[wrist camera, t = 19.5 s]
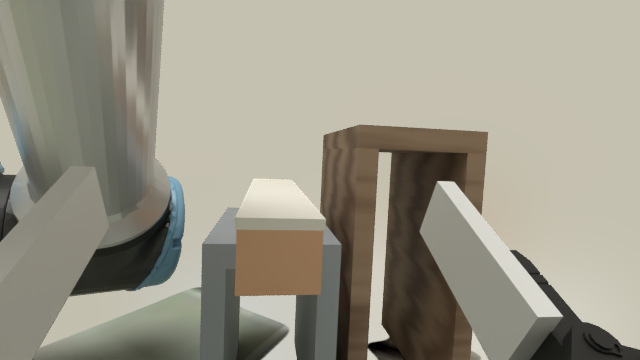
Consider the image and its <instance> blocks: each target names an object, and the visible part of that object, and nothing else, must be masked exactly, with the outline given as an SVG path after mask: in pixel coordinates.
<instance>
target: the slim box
mask: <svg viewBox="0 0 640 360" xmlns="http://www.w3.org/2000/svg"><path fill="white" fill-rule="evenodd" d="M234 230H237V231H236V267H235V296H259V295H260V296H261V295H321V276H322V255H323V233H324V231H326V219H325V217H324V216H323V215H322V214H321V213H320V212H319V211H318V209H317V208H316V207H315V206H314V205H313V204H312V203H311V201H310V200H309V199H308V198H307V197H306V196H305V194H303V192H302V191H301V190H300V189H299V188H298V187H297V185H296V184H295V183H294V182H293V181H292V180H287V179H285V180H284V179H256V178H254V179H253V181H252V183H251V185H250V187H249V189H248V191H247V194H246V196H245V198H244V200H243V202H242V204H241V206H240V208H239V210H238V212H237V214H236V216H235V229H234Z"/></svg>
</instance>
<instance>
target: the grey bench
mask: <svg viewBox="0 0 640 360" xmlns="http://www.w3.org/2000/svg"><path fill="white" fill-rule="evenodd" d="M238 210H239V208H227V210H226V211H225V212H224V214H223V215H222V217H221V218H220V220H219V221H218V223H217V224H216V225H215V227H214V228H213V230H212V231H211V232H210V234H209V235H208V237H207V238H206V239H205V241H204V242H203V244H202V285H201V333H200V360H236V356H237V350H238V343H239V308H240V296H235V267H236V231H237V230H234V229H235V216H236V214H237V212H238ZM341 246H342V245H341V243H340V242H339V241H338V240H337V238H336V237H335V236H334V235H333V233H332V232H331V231H330V230H329V228H328V227H327V226H326V231H324V233H323V255H322V276H321V295H296V318H295V348H296V355H297V360H336V346H337V326H338V306H339V286H340V266H341Z"/></svg>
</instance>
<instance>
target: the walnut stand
mask: <svg viewBox="0 0 640 360" xmlns="http://www.w3.org/2000/svg"><path fill="white" fill-rule="evenodd" d="M487 138H488V132H477V131H460V130H459V131H458V130H442V129H425V128H408V127H391V126H374V125H357V126H354V127H350V128H347V129H343V130H340V131H337V132H333V133H330V134H326V135H324V140H323V162H322V186H321V207H320V213H321V214H322V215H323V216H324V217H325V219H326V226H327V227H328V228H329V230H330V231H331V232H332V233H333V235H334V236H335V237H336V238H337V240H338V241H339V242H340V243H341V245H342V246H341V266H340V286H339V306H338V326H337V346H336V360H367V349H368V330H369V313H370V296H371V278H372V261H373V242H374V225H375V208H376V190H377V173H378V154H379V152H391V153H392V159H391V175H390V193H389V209H388V225H387V242H386V259H385V276H384V293H383V310H382V325H383V327H384V328H385V330H386V332H387V333H388V335H389V336H390V338H391V339H392V341H393V342H394V344H395V345H396V347H397V348H398V350H399V351H400V353H401V354H402V356H403V357H404V359H405V360H470V353H471V340H472V328H471V326H470V324H469V322H468V320H467V318H466V317H465V315H464V313H463V311H462V309H461V307H460V305H459V304H458V302H457V300H456V298H455V296H454V294H453V293H452V291H451V289H450V287H449V285H448V283H447V281H446V280H445V278H444V276H443V274H442V272H441V270H440V269H439V267H438V265H437V263H436V261H435V259H434V258H433V256H432V254H431V252H430V250H429V248H428V246H427V245H426V243H425V241H424V239H423V237H422V235H421V234H420V232H419V231H420V228H421V226H422V223H423V220H424V217H425V214H426V211H427V209H428V206H429V203H430V200H431V197H432V194H433V191H434V189H435V186H436V183H437V181H449V182H455V183H456V185H457V186H458V187H459V188H460V190H461V191H462V192H463V193H464V195H465V196H466V197H467V198H468V200H469V201H470V202H471V203H472V204H473V206H474V207H475V208H476V209H477V211H478V212H479V213H480V214H482V200H483V189H484V176H485V163H486V151H487Z"/></svg>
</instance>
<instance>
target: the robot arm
mask: <svg viewBox="0 0 640 360" xmlns="http://www.w3.org/2000/svg"><path fill="white" fill-rule="evenodd" d="M163 7H164V0H0V97H1V100H2V102H3V106H4V109H5V112H6V115H7V118H8V120H9V123H10V126H11V129H12V132H13V135H14V138H15V141H16V144H17V147H18V150H19V153H20V156H21V159H22V161H23V165H24V166H23V167H22V168H21V170H20V171H19V172H18V174H17V175H3V174H2V173H3V172H4V168H3V167H2V165H1V163H0V360H32V359H33V357H34V356H35V354H36V352H37V350H38V349H39V347H40V345H41V343H42V342H43V340H44V338H45V337H46V335H47V333H48V331H49V330H50V328H51V326H52V324H53V323H54V321H55V319H56V318H57V316H58V314H59V312H60V311H61V309H62V307H63V306H64V304H65V302H66V300H67V299H68V297H69V296H77V295H86V294H94V293H103V292H111V291H120V290H126V291H136V290H137V289H138V290H139V289H141V288H143V287H147V286H154V285H159V284H162V283H164V282H165V281H167V280H168V279H169V278H170V277H171V276H172V274H173V273H174V271H175V269H176V267H177V264H178V261H179V257H180V253H181V247H182V246H181V239H182V237H183V233H184V222H185V205H184V196H183V190H182V186H181V184H180V182H179V181H178V180H177V179H175V178H173V177H168V176H167V173H166V171H165V169H164V168H163V166H162V165H161V164H160V163H159V161H158V160H157V159H156V158H155V142H156V125H157V108H158V92H159V76H160V59H161V58H160V57H161V41H162V26H163V9H164V8H163ZM419 232H420V234H421V235H422V237H423V239H424V241H425V243H426V245H427V246H428V248H429V250H430V252H431V254H432V256H433V258H434V259H435V261H436V263H437V265H438V267H439V269H440V270H441V272H442V274H443V276H444V278H445V280H446V281H447V283H448V285H449V287H450V289H451V291H452V293H453V294H454V296H455V298H456V300H457V302H458V304H459V305H460V307H461V309H462V311H463V313H464V315H465V317H466V318H467V320H468V322H469V324H470V326H471V328H472V329H473V331H474V333H475V335H476V337H477V339H478V341H479V342H480V344H481V346H482V348H483V350H484V352H485V353H486V355H487V357H488V359H489V360H640V350H638V349H634V348H631V347H626V346H623V345H621V344H620V343H619V341H618V340H617V339H615V338H614V337H613V336H612V335H610V333H608V332H607V331H605V330H603V329H602V328H600V327H598V326H596V325H593V324H590V323H586V322H582V321H581V320H580V319H579V318H578V317H577V316H576V314H575V313H574V312H573V311H572V310H571V308H570V307H569V306H568V305H567V304H566V303H565V301H564V300H563V299H562V298H561V297H560V296H559V294H558V293H557V292H556V291H555V290H554V289H553V287H552V286H551V285H549V284H548V281H547V280H546V279H545V278H544V277H543V275H540V272H539V271H538V270H537V268H536V267H535V266H534V265H533V264H532V263H531V262H530V260H528V259H527V258H526V257H524V256H523V255H522V254H520V253H519V252H517V251H516V250H509V249H508V248H507V246H506V245H505V244H504V243H503V241H502V240H501V239H500V238H499V237H498V235H497V234H496V233H495V232H494V230H493V229H492V228H491V227H490V225H489V224H488V223H487V222H486V220H485V219H484V218H483V217H482V216H481V214H480V213H479V212H478V211H477V209H476V208H475V207H474V206H473V204H472V203H471V202H470V201H469V200H468V198H467V197H466V196H465V195H464V193H463V192H462V191H461V190H460V188H459V187H458V186H457V185H456V183H455V182H449V181H437V183H436V186H435V189H434V191H433V194H432V197H431V200H430V203H429V206H428V209H427V211H426V214H425V217H424V220H423V223H422V226H421V228H420V231H419Z"/></svg>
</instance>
